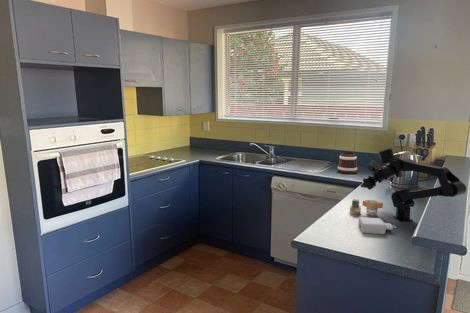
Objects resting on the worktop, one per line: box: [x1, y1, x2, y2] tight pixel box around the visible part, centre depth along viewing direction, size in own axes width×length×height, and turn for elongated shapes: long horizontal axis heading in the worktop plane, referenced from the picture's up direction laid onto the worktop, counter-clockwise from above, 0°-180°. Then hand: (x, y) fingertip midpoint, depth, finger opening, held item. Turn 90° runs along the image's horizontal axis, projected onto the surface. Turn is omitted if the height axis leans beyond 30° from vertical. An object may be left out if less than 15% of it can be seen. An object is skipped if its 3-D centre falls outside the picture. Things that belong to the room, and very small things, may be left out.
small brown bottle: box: [349, 198, 362, 216], centre depth 172 cm, size 5×5×7 cm
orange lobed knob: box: [365, 199, 379, 218], centre depth 169 cm, size 5×5×7 cm
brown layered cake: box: [337, 152, 358, 175], centre depth 269 cm, size 20×15×15 cm
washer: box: [362, 198, 384, 210], centre depth 169 cm, size 7×7×2 cm
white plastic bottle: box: [357, 216, 397, 235], centre depth 150 cm, size 5×9×15 cm
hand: (365, 182), depth 182 cm, fingers open, 9 cm apart
